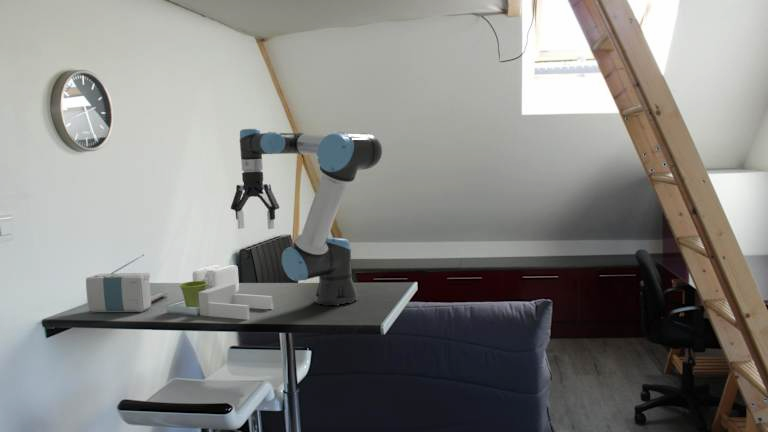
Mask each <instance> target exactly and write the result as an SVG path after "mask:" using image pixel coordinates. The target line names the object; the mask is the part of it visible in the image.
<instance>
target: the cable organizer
mask: <svg viewBox="0 0 768 432" xmlns="http://www.w3.org/2000/svg"><path fill="white" fill-rule="evenodd" d="M191 277H192V281H206V282H207V284H206V289H205V290H207V289H210V288H214V287H217V286H220V285H223V284H235V286H236V294H238V292H239V290H240V284H239V283H240V282H239V281H240V280H239V269H238V266H237V265H236V264H231V265H228V266H227V265H226V266H224V267H221V265H219V264H213V265H210V266H206V267H201V268H198V269H195V270H193V272H192V276H191Z"/></svg>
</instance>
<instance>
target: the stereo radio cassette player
mask: <svg viewBox="0 0 768 432" xmlns="http://www.w3.org/2000/svg"><path fill="white" fill-rule="evenodd" d="M144 256H145V254H142V255H140V256H139V257H137V258H135V259H133V260H132V261H129V262H128V263H126V264H124V265H122V266H121V267H119V268H117V269H116V270H114V271H112V272H111V273H98V274H94V275H92V276H88V277H86V278H85V289H86V299H87V301H86V302H87V307H88V311H90V312H91V313H94V314H95V313H143V312H145V311H147V310H148V309H150V308H151V306H152V297H151V285H150V277H151V276H150V273H149V272H130V273H129V272H128V273H127V272H126V273H124V272H123V273H121V272H120V273H119V272H118V271H120V270H122V269H124V268H126V267H127V266H129V265H130V264H132V263H134V262H135V261H136V260H138V259H140V258H141V257H144Z"/></svg>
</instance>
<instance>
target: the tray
mask: <svg viewBox="0 0 768 432" xmlns="http://www.w3.org/2000/svg"><path fill="white" fill-rule="evenodd" d="M166 311H167V314H172V315H183V316H193V317H195V316H196V317H197V316H201V315H200V307H197V308H195V307H186V305H185V300H184V299H183V300H182V301H178V302H175V303H172V304H169V305H166Z"/></svg>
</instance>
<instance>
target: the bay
mask: <svg viewBox="0 0 768 432" xmlns="http://www.w3.org/2000/svg"><path fill="white" fill-rule="evenodd" d="M198 293H199V307H200V315H199V316H204V317H205V316H206V317H214V318H215V317H216V318H224V319H225V318H226V319H237V320H246V321H247V320H248V321H249V320H250V319H251V318H250V309H256V310H257V309H258V310H268V309H272V310H274V296H272V295H260V294H246V293H245V294H244V293H236V286H235V284H223V285H220V286H217V287H214V288H210V289H207V290H204V291H201V292H198Z"/></svg>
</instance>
